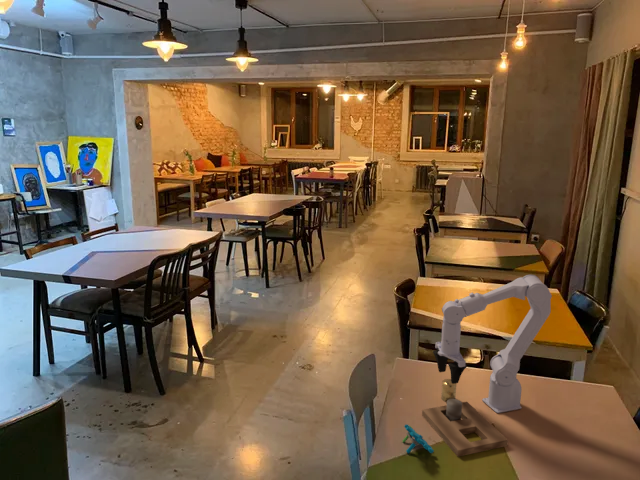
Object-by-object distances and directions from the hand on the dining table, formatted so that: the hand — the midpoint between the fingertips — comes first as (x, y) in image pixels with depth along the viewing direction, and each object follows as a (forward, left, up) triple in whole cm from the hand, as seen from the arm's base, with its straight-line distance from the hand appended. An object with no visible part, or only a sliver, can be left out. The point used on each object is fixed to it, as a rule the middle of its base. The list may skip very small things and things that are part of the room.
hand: (448, 377), depth 153 cm
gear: (+21, +19, -9) cm, 30 cm away
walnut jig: (+4, +15, -9) cm, 18 cm away
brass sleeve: (-1, -1, -9) cm, 9 cm away
